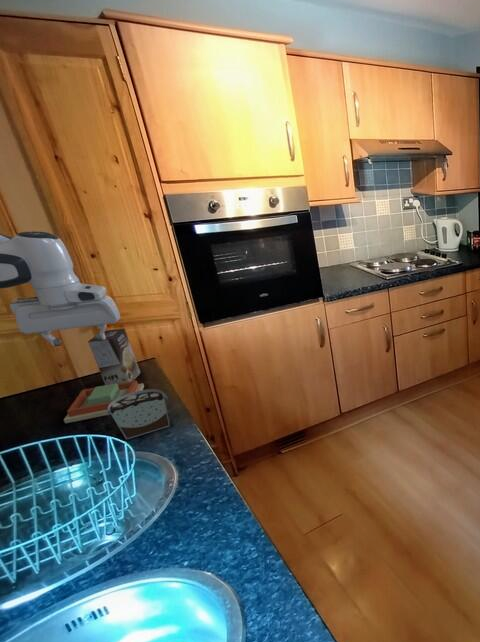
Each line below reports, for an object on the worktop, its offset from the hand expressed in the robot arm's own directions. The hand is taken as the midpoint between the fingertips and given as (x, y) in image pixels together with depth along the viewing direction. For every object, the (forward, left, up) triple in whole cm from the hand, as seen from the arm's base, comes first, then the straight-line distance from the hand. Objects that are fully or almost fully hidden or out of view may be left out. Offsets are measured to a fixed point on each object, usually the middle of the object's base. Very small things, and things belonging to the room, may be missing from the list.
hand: (80, 342), depth 124 cm
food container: (+13, -20, -20) cm, 31 cm away
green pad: (0, 0, -19) cm, 19 cm away
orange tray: (0, 0, -20) cm, 20 cm away
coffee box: (+1, +15, -20) cm, 25 cm away
